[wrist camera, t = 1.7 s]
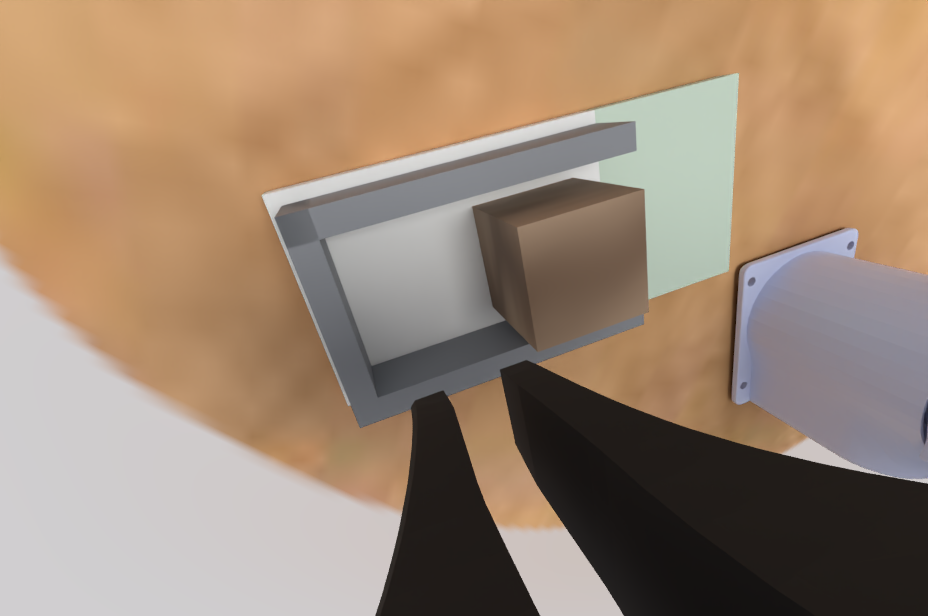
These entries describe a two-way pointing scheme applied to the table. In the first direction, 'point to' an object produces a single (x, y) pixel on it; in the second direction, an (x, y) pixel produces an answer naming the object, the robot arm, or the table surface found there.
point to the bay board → (457, 244)
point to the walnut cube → (565, 258)
